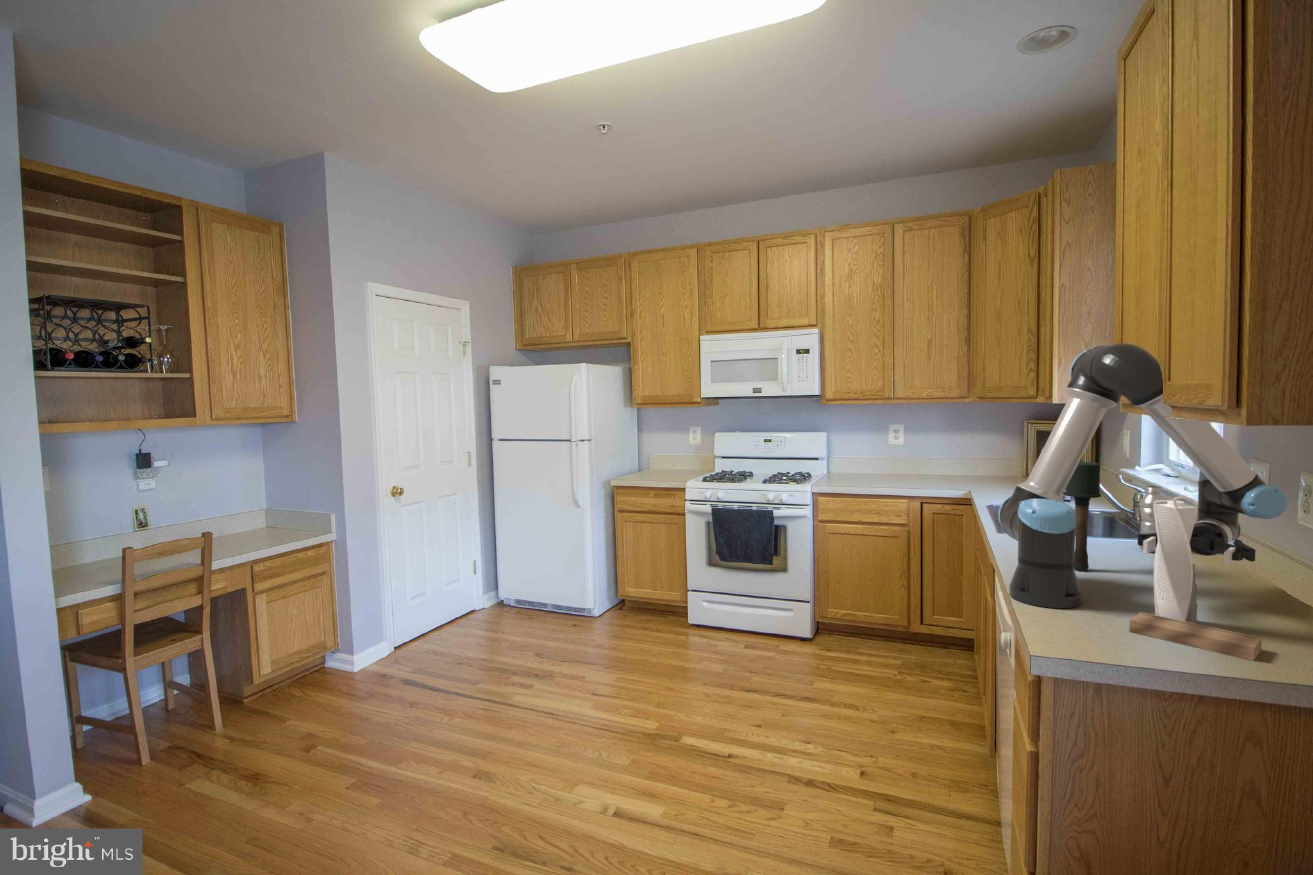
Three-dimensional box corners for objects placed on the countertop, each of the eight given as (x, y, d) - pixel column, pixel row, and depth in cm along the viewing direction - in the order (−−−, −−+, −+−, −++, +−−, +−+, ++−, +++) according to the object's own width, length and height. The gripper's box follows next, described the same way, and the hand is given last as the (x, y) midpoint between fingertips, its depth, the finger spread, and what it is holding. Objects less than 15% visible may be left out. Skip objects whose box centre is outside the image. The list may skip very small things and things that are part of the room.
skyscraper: (1200, 633, 130) (1204, 498, 128) (1150, 625, 134) (1154, 495, 132) (1196, 620, 136) (1201, 492, 134) (1149, 613, 141) (1152, 490, 139)
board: (1129, 631, 131) (1129, 619, 131) (1140, 623, 135) (1140, 611, 135) (1253, 660, 116) (1254, 646, 116) (1261, 650, 121) (1261, 637, 120)
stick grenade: (1106, 574, 171) (1109, 464, 169) (1074, 574, 171) (1077, 465, 169) (1086, 565, 180) (1088, 461, 177) (1055, 566, 180) (1057, 461, 178)
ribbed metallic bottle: (1163, 555, 188) (1165, 489, 187) (1135, 551, 193) (1137, 486, 192) (1167, 551, 193) (1169, 486, 191) (1140, 547, 198) (1142, 484, 196)
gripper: (1280, 563, 139) (1263, 582, 126) (1142, 543, 158) (1114, 559, 145) (1282, 529, 138) (1264, 546, 125) (1143, 514, 158) (1115, 527, 145)
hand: (1183, 553), depth 135 cm, fingers open, 13 cm apart
